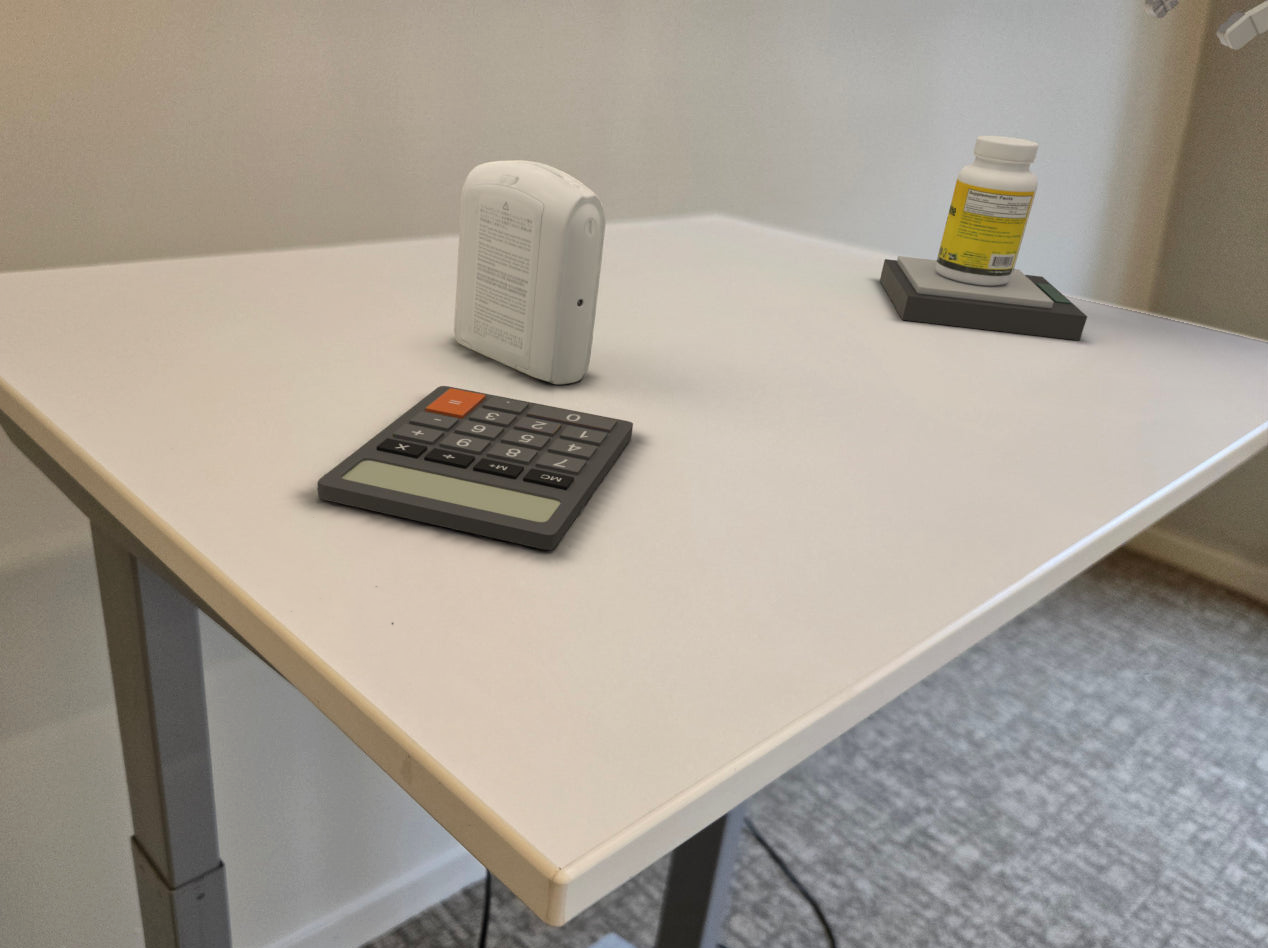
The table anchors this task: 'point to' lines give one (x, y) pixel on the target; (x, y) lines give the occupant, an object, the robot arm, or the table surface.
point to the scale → (980, 301)
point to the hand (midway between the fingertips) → (1185, 25)
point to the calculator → (482, 466)
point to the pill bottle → (989, 212)
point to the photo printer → (529, 268)
